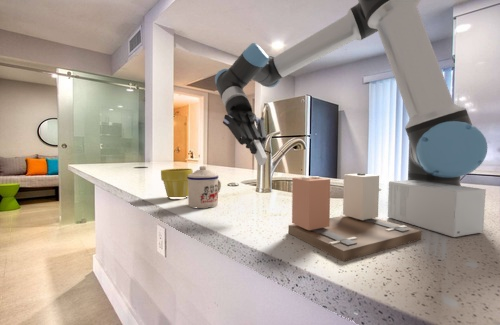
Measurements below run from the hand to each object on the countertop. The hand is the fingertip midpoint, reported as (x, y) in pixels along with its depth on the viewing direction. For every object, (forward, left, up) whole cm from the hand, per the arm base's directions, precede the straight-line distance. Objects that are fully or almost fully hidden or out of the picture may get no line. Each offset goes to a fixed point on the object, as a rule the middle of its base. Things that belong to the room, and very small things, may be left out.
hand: (263, 161), depth 63 cm
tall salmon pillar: (-1, +17, -11) cm, 21 cm away
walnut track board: (-8, +21, -14) cm, 26 cm away
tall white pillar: (-15, +17, -11) cm, 25 cm away
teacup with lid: (+9, -18, -14) cm, 24 cm away
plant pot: (+15, -32, -14) cm, 38 cm away
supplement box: (-30, +17, -9) cm, 35 cm away
